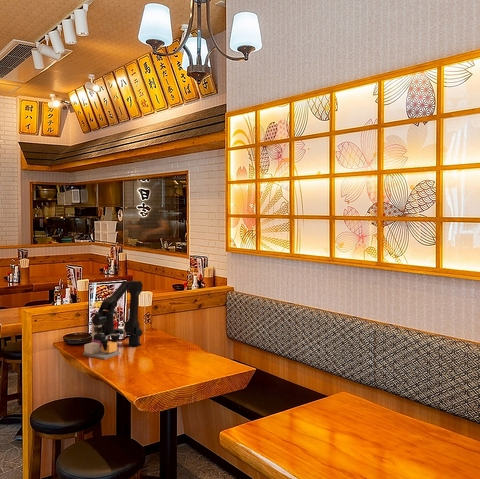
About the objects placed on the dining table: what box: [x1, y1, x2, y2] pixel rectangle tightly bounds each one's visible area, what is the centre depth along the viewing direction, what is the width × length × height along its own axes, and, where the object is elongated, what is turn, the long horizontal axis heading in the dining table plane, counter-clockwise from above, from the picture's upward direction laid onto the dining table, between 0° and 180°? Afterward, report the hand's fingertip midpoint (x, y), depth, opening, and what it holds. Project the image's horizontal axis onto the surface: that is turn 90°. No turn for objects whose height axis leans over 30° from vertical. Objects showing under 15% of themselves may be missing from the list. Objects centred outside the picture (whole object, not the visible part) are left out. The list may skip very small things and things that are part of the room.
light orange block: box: [101, 340, 118, 353], centre depth 285 cm, size 6×6×5 cm
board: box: [82, 341, 121, 360], centre depth 286 cm, size 12×17×6 cm
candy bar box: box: [90, 318, 109, 348], centre depth 304 cm, size 11×5×16 cm, turn 47°
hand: (109, 349), depth 286 cm, fingers closed on light orange block, 6 cm apart
